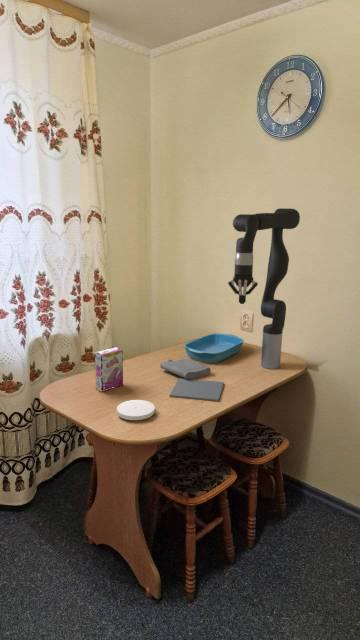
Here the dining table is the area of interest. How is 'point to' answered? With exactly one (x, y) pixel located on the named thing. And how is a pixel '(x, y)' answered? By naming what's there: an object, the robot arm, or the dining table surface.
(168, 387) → the dining table surface
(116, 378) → the candy bar box
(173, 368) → the hip flask
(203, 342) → the casserole dish
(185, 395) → the mat
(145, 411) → the plastic lid
